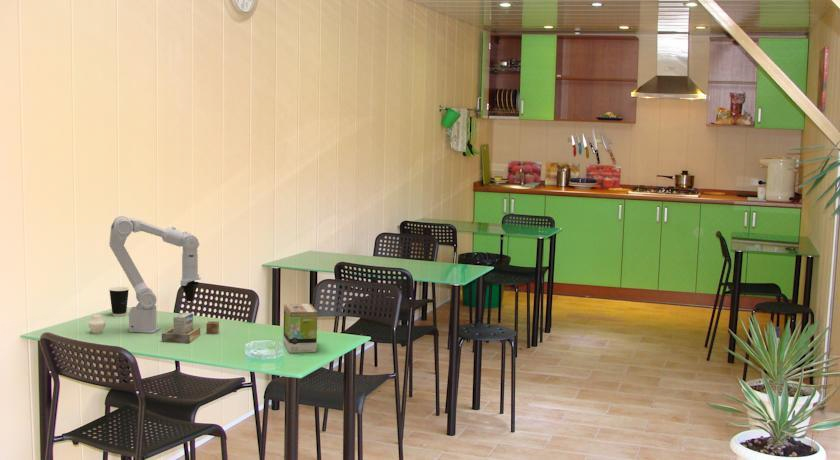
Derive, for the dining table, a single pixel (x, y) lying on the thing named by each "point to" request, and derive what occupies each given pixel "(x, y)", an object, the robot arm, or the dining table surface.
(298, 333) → the tea box
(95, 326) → the cream lidded jar
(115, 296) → the dixie cup
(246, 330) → the dining table surface
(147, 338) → the dining table surface
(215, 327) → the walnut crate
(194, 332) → the dock bay
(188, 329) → the medicine box
